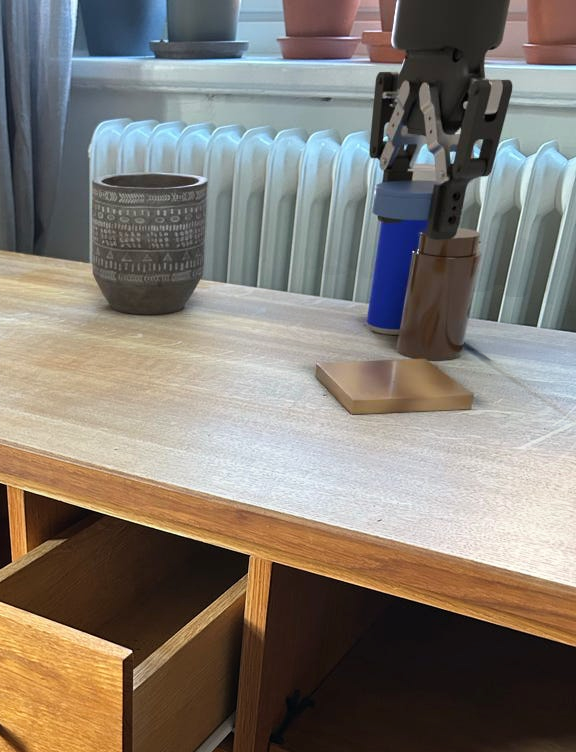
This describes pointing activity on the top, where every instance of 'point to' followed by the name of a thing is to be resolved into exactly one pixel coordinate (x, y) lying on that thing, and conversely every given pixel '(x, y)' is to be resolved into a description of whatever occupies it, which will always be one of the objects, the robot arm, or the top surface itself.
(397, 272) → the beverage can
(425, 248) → the jar
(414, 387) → the plate
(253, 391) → the top surface
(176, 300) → the planter
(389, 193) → the jar lid
